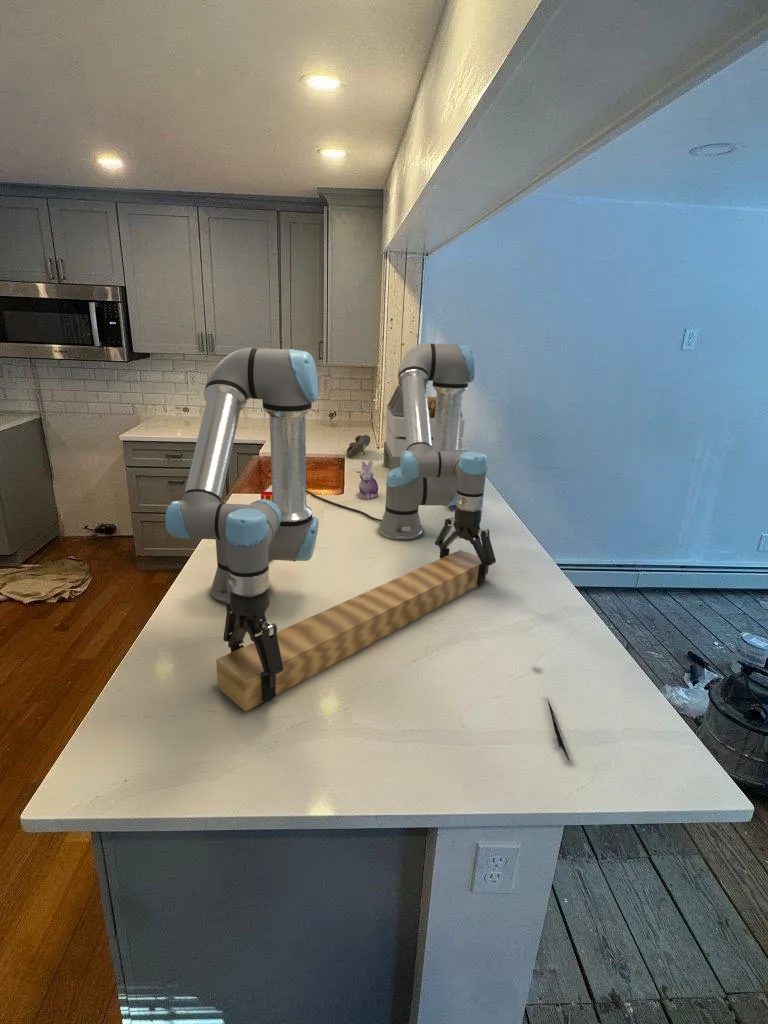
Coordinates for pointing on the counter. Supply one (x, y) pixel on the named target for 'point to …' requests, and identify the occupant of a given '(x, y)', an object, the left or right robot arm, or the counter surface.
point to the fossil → (358, 446)
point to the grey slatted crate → (397, 428)
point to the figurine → (367, 482)
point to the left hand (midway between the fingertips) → (253, 685)
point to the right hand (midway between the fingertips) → (461, 576)
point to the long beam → (348, 627)
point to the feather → (557, 730)
